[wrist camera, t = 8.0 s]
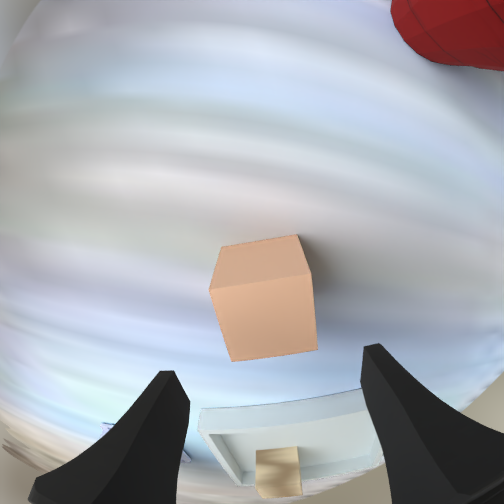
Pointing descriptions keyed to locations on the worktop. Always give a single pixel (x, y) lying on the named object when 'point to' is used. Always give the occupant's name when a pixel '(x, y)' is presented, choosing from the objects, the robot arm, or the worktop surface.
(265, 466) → the oak block
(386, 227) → the worktop surface
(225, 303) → the terracotta block
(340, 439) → the grey tray
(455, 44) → the plastic cup
